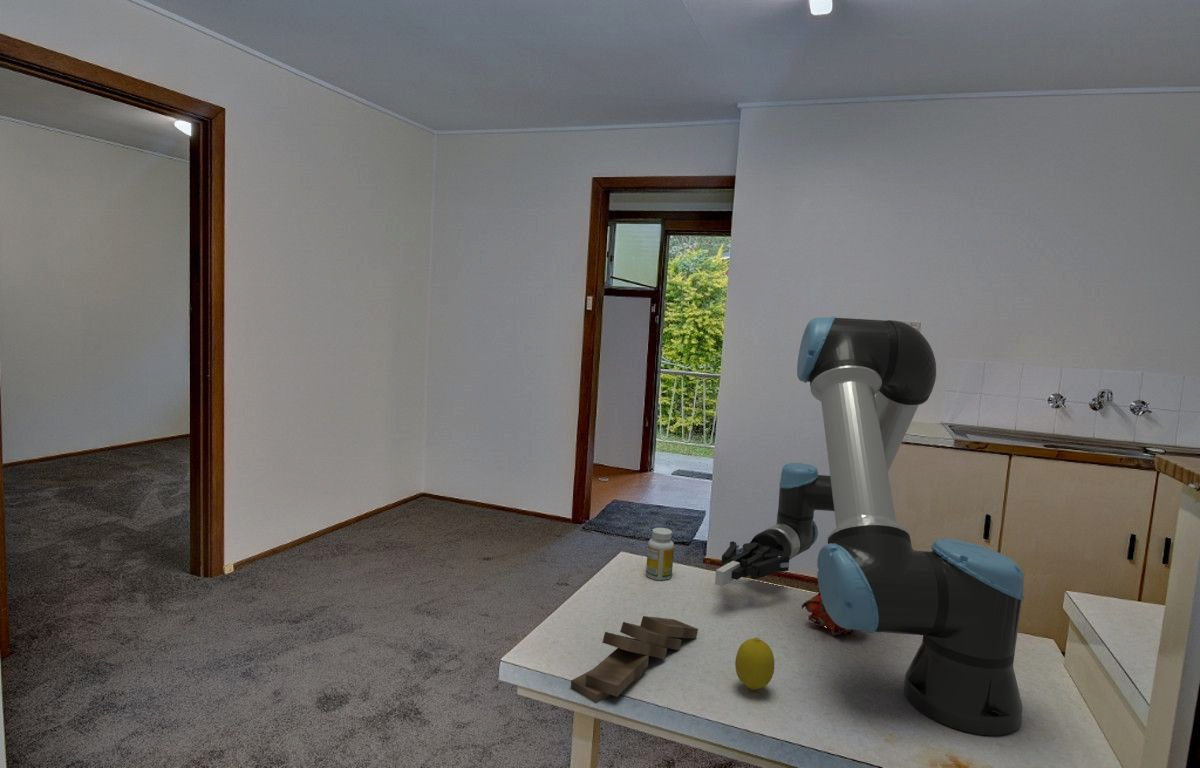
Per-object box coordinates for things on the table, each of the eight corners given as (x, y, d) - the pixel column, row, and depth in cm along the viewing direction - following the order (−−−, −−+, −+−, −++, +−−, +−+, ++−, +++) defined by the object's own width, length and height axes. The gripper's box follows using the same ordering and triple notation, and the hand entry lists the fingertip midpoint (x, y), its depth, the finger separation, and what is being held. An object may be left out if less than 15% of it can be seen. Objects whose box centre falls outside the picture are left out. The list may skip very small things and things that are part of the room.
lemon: (772, 703, 98) (777, 649, 97) (733, 697, 99) (737, 644, 98) (771, 683, 104) (775, 632, 103) (733, 677, 105) (737, 626, 104)
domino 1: (667, 648, 108) (631, 640, 101) (665, 659, 108) (628, 651, 101) (641, 640, 112) (605, 631, 105) (639, 650, 111) (602, 642, 104)
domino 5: (698, 629, 117) (668, 626, 109) (696, 638, 116) (665, 636, 109) (673, 619, 120) (642, 615, 112) (671, 628, 119) (640, 625, 112)
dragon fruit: (876, 650, 119) (803, 644, 124) (874, 606, 125) (805, 602, 130) (874, 623, 114) (798, 618, 118) (872, 578, 120) (800, 575, 125)
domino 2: (648, 655, 104) (617, 685, 95) (648, 665, 104) (616, 696, 96) (619, 646, 106) (586, 674, 98) (618, 656, 107) (585, 685, 98)
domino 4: (681, 640, 112) (648, 632, 105) (678, 650, 112) (645, 643, 105) (657, 629, 115) (623, 621, 108) (654, 639, 115) (620, 632, 108)
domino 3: (642, 669, 103) (596, 694, 96) (641, 679, 103) (596, 705, 96) (616, 656, 107) (571, 680, 99) (616, 666, 107) (570, 691, 99)
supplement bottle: (646, 580, 140) (649, 534, 139) (645, 570, 145) (648, 525, 144) (672, 581, 140) (676, 535, 139) (671, 571, 145) (674, 527, 144)
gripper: (803, 573, 139) (750, 609, 121) (744, 555, 147) (686, 587, 129) (806, 536, 138) (754, 568, 120) (747, 521, 146) (689, 548, 128)
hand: (719, 578), depth 124 cm, fingers closed
